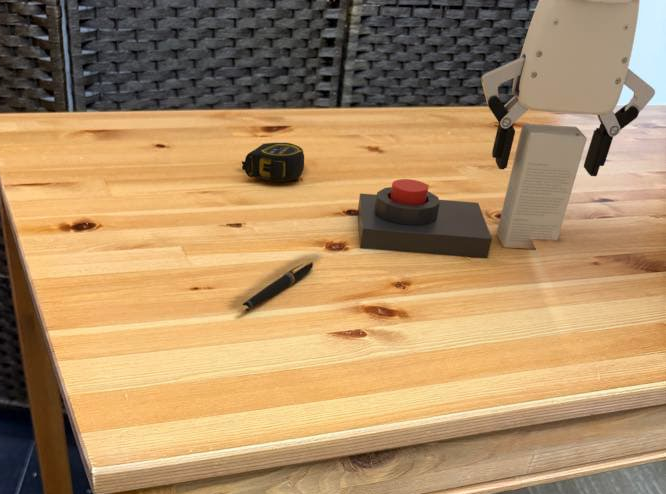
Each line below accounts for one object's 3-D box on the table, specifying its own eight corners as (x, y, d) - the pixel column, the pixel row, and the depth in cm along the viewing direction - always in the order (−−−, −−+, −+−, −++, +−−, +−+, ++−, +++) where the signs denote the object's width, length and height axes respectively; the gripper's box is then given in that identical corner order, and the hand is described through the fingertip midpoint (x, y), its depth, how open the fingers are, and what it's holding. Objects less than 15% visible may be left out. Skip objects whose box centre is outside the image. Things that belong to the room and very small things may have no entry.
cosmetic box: (545, 237, 95) (578, 125, 87) (554, 251, 92) (589, 137, 84) (494, 233, 95) (522, 121, 87) (500, 248, 92) (530, 133, 84)
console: (474, 221, 97) (481, 186, 95) (487, 258, 89) (496, 222, 86) (357, 212, 97) (362, 177, 95) (359, 248, 89) (365, 211, 87)
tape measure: (262, 166, 108) (264, 136, 105) (310, 176, 106) (313, 145, 104) (241, 181, 103) (242, 150, 101) (290, 191, 101) (292, 160, 99)
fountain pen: (241, 321, 75) (241, 306, 74) (230, 317, 75) (231, 302, 74) (317, 270, 84) (318, 256, 83) (307, 267, 85) (308, 253, 84)
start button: (423, 196, 92) (426, 180, 91) (427, 209, 89) (430, 192, 88) (388, 193, 92) (391, 177, 91) (390, 206, 89) (393, 189, 88)
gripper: (676, -22, 79) (616, 163, 90) (498, -35, 79) (460, 152, 91) (702, -9, 73) (634, 186, 85) (511, -23, 74) (469, 174, 85)
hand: (545, 168), depth 88 cm, fingers open, 9 cm apart
